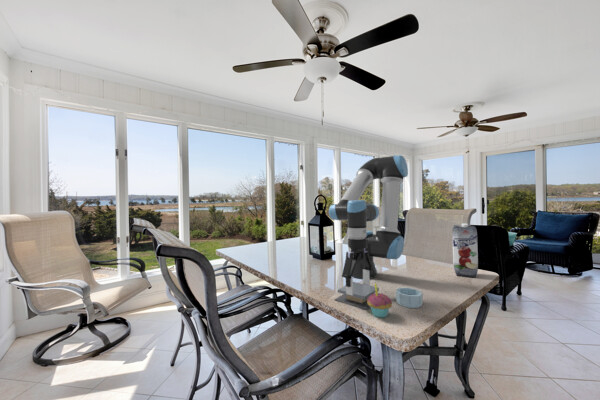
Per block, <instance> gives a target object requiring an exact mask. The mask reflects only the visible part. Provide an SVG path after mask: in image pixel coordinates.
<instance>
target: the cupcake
mask: <svg viewBox="0 0 600 400" xmlns="http://www.w3.org/2000/svg"><path fill="white" fill-rule="evenodd" d="M374 287H375V291H376V293H375V294H372V295H369V297H368V298H367V304H368V305H369V306H370V310H371V312H372V315H373V316H374V317H375V318H376V317H377V318H385V317H387V316H388V313H389V310H390V309H391V308H393V307H392V306H393V302H392V301H393V300H392V299H391V298H390V296H388V295H386V294H384V293H382V292H381V293H380V292H379V291H378V292H377V287H378V285H377V283H376V282H374Z"/></svg>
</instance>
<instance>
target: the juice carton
mask: <svg viewBox="0 0 600 400" xmlns="http://www.w3.org/2000/svg"><path fill="white" fill-rule="evenodd" d="M478 245H479V244H478V230H477V227H476V226H474V225H469V223H461V225H458V224H454V225H453V226H452V264H453V265H452V266H453V270H454V273H455V275H456V276H457V277H458V276H459V277H468V278H477V275H478V271H479V258H478V257H479V254H478V249H479V248H478Z"/></svg>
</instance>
